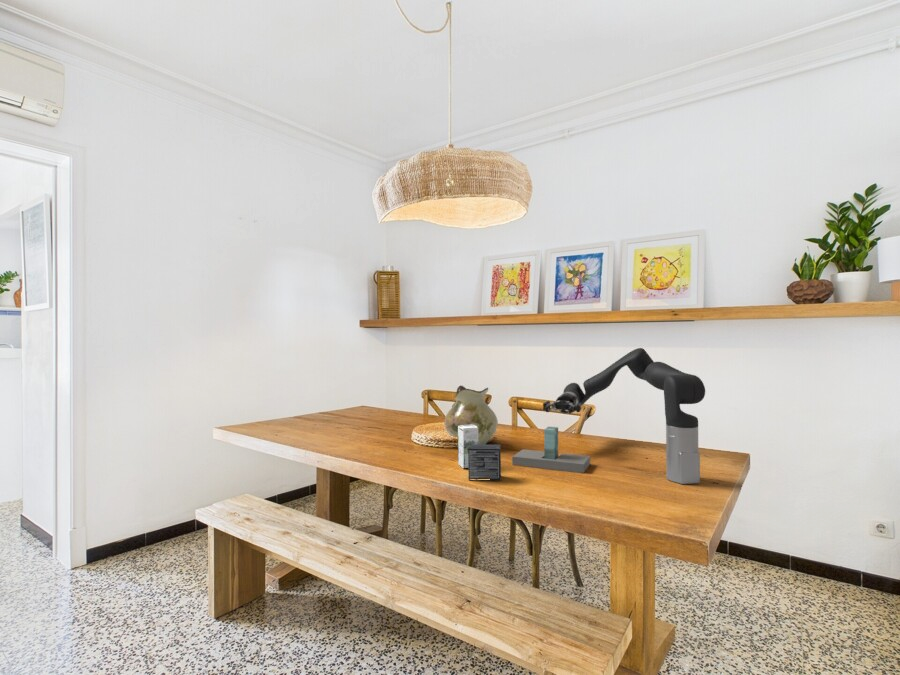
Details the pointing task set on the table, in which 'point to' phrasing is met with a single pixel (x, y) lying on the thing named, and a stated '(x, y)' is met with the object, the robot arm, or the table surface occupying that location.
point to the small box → (484, 462)
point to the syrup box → (466, 442)
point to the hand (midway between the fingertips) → (558, 410)
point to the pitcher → (471, 414)
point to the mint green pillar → (551, 443)
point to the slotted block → (552, 461)
